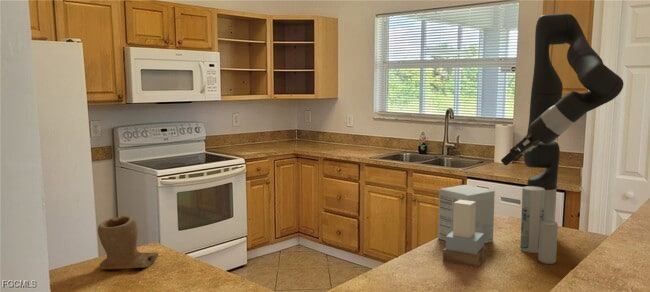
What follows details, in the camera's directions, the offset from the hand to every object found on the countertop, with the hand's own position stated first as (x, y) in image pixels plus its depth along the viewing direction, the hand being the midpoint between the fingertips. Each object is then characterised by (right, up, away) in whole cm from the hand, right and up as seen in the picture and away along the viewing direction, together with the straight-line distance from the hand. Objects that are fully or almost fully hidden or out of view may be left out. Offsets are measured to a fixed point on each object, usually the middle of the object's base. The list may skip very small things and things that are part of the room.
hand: (508, 160), depth 149 cm
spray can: (+12, -29, +13) cm, 34 cm away
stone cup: (-111, -31, -1) cm, 116 cm away
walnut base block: (-12, -30, +4) cm, 33 cm away
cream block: (-12, -22, +4) cm, 26 cm away
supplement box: (-6, -28, +24) cm, 37 cm away
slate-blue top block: (-12, -26, +4) cm, 29 cm away
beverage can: (+12, -30, +2) cm, 33 cm away
